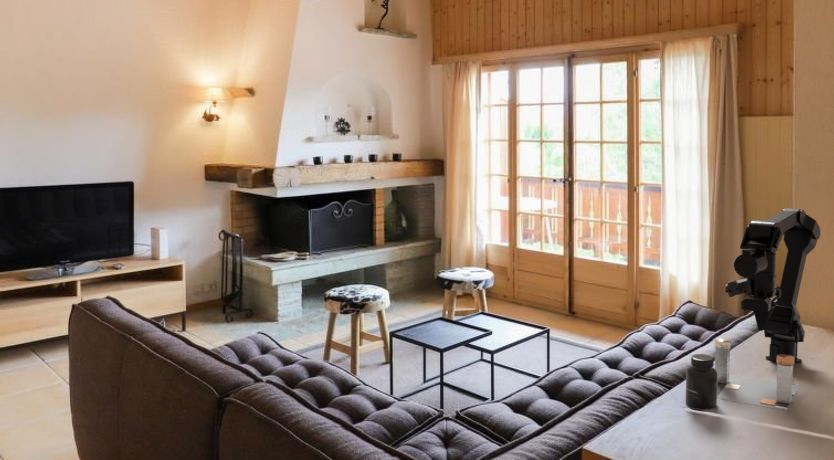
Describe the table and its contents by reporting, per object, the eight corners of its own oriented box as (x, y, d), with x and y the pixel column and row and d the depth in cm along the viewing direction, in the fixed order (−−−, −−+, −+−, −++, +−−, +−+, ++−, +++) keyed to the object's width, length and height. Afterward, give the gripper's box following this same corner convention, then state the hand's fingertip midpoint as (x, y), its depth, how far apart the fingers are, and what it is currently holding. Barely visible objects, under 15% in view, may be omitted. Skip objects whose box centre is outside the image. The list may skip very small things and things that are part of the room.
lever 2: (776, 396, 166) (778, 353, 164) (794, 399, 164) (795, 355, 162) (774, 401, 163) (775, 357, 161) (791, 404, 161) (793, 360, 159)
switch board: (722, 375, 184) (722, 372, 183) (800, 387, 173) (800, 384, 173) (703, 397, 169) (703, 394, 169) (787, 413, 159) (787, 409, 159)
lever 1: (716, 377, 180) (717, 337, 178) (731, 380, 177) (732, 339, 176) (712, 382, 177) (713, 341, 175) (727, 384, 175) (728, 343, 173)
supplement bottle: (683, 409, 163) (684, 359, 161) (687, 399, 169) (688, 350, 167) (715, 414, 160) (716, 363, 158) (718, 403, 166) (719, 354, 164)
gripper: (736, 261, 191) (735, 317, 193) (719, 274, 176) (718, 335, 178) (782, 264, 184) (780, 322, 186) (768, 279, 169) (767, 341, 171)
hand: (760, 330), depth 181 cm, fingers closed
